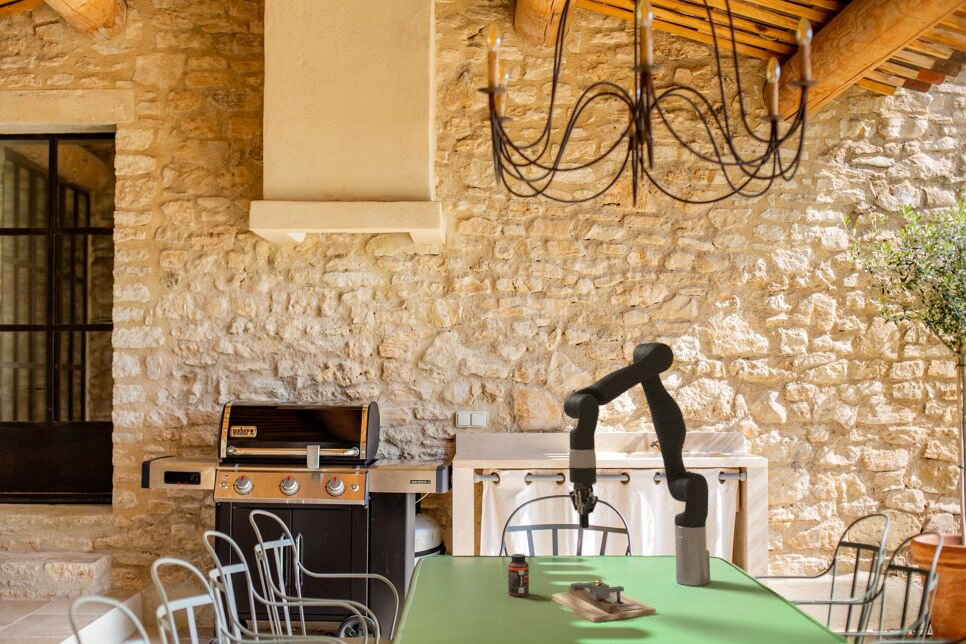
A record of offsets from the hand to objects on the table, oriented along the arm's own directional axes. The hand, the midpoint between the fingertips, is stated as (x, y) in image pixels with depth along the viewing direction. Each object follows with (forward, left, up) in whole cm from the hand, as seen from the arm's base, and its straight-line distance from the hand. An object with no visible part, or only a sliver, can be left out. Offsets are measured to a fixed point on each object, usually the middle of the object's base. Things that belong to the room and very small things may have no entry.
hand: (584, 527), depth 223 cm
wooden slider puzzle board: (-3, +4, -21) cm, 21 cm away
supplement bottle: (+13, -16, -21) cm, 30 cm away
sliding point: (-2, +8, -19) cm, 21 cm away
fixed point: (-3, -4, -19) cm, 20 cm away
